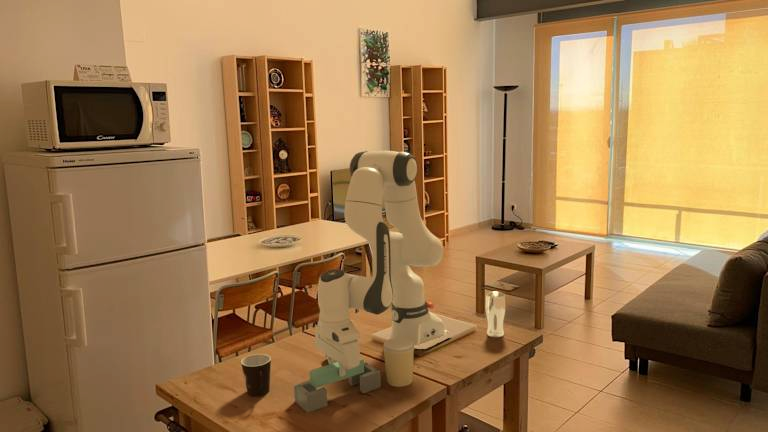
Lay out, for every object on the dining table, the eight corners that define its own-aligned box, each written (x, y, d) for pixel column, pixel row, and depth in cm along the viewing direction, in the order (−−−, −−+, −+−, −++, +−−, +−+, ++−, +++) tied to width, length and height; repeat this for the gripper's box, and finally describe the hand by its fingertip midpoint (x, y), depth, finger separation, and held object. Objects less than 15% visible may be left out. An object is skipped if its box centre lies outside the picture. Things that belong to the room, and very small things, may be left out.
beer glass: (482, 335, 210) (482, 295, 207) (490, 329, 215) (490, 290, 213) (500, 339, 206) (500, 298, 203) (508, 332, 211) (508, 293, 209)
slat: (315, 388, 164) (315, 374, 163) (310, 383, 167) (309, 370, 166) (364, 372, 173) (363, 359, 172) (358, 368, 176) (357, 355, 175)
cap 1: (307, 412, 161) (306, 396, 160) (294, 401, 168) (293, 385, 167) (327, 405, 164) (326, 389, 163) (314, 394, 171) (313, 378, 170)
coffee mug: (247, 384, 179) (245, 354, 177) (276, 384, 178) (273, 353, 176) (237, 404, 167) (234, 371, 165) (267, 403, 167) (264, 370, 165)
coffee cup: (421, 379, 178) (420, 342, 176) (400, 391, 171) (399, 352, 169) (399, 370, 184) (397, 334, 182) (377, 381, 178) (376, 344, 176)
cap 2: (366, 377, 181) (365, 362, 180) (380, 387, 174) (380, 371, 173) (349, 383, 177) (348, 367, 176) (363, 393, 171) (362, 377, 170)
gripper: (308, 319, 174) (311, 362, 176) (343, 340, 157) (345, 388, 160) (327, 314, 177) (329, 357, 180) (363, 334, 160) (365, 381, 163)
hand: (337, 372), depth 170 cm, fingers closed on slat, 3 cm apart
